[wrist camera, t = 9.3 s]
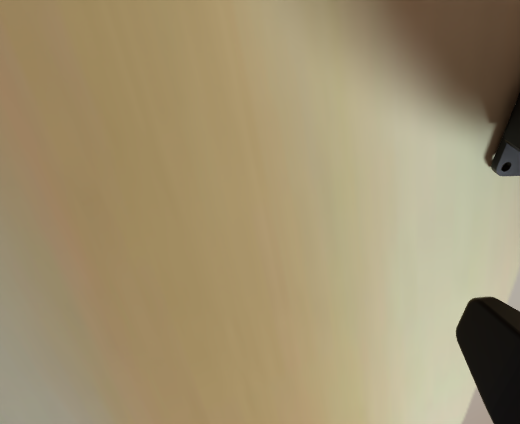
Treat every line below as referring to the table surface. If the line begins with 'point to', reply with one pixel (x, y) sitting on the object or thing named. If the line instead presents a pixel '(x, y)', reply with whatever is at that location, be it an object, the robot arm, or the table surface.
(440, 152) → the table surface
